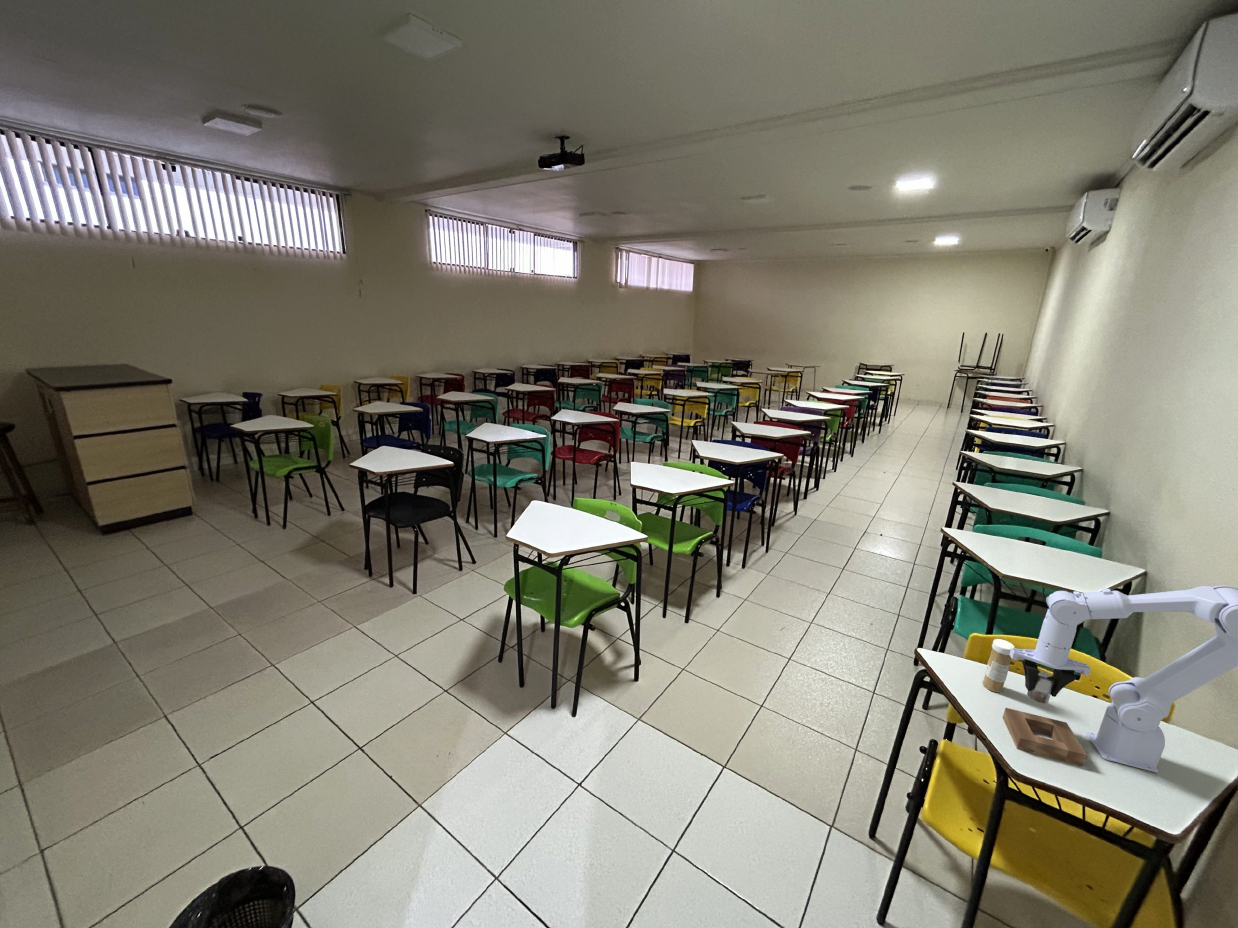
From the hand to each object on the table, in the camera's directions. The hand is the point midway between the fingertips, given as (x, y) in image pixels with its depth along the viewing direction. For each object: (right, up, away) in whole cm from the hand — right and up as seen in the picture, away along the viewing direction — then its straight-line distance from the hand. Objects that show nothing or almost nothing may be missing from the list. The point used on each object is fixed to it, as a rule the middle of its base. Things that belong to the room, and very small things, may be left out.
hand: (1040, 690), depth 119 cm
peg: (0, -2, +1) cm, 2 cm away
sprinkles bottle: (-1, -6, +14) cm, 15 cm away
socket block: (-3, -10, -3) cm, 11 cm away
